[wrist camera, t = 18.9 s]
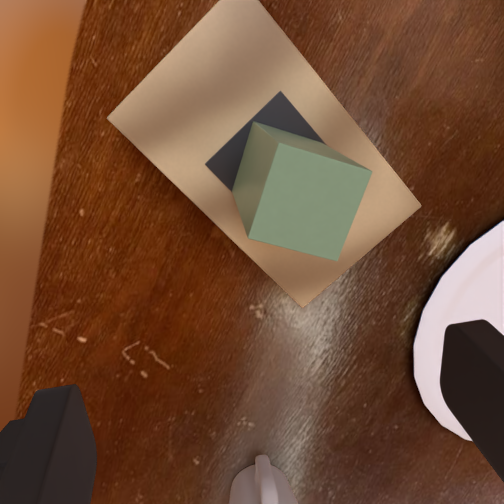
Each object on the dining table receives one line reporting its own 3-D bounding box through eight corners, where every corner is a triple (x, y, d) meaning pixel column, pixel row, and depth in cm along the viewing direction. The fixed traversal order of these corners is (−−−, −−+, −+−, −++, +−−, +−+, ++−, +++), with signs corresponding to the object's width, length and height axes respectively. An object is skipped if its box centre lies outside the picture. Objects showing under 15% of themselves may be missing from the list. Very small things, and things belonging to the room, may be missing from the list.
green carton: (231, 191, 33) (247, 238, 24) (252, 121, 32) (278, 142, 22) (297, 210, 34) (337, 262, 25) (321, 142, 33) (373, 171, 23)
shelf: (120, 109, 37) (105, 118, 30) (231, -6, 35) (241, -23, 28) (286, 273, 44) (303, 310, 37) (386, 184, 42) (423, 206, 35)
